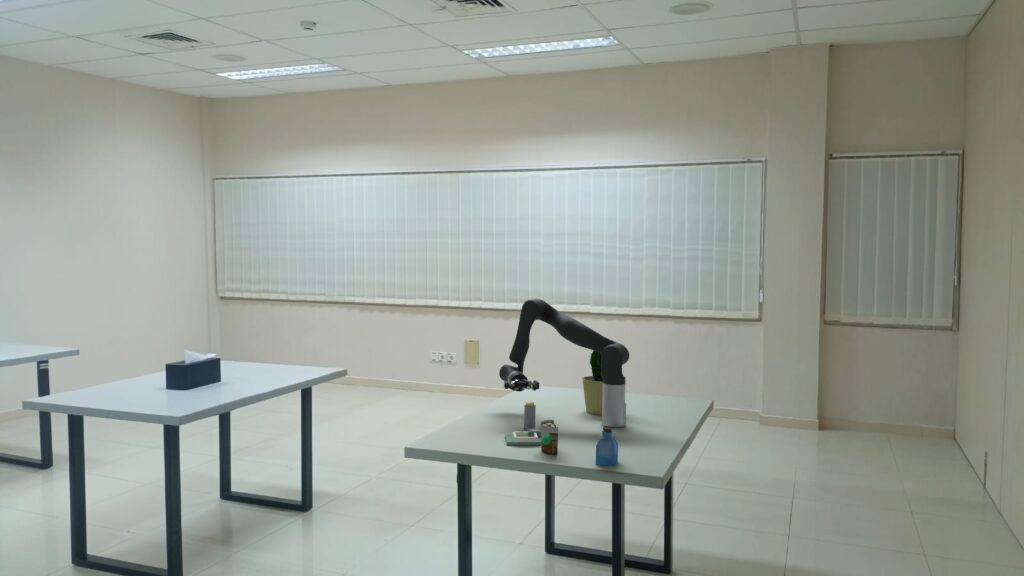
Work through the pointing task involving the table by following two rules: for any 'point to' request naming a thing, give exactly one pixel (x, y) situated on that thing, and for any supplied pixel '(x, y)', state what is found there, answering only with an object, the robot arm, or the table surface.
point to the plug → (529, 416)
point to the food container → (549, 437)
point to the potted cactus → (594, 386)
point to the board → (524, 438)
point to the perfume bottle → (607, 449)
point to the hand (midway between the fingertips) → (524, 388)
